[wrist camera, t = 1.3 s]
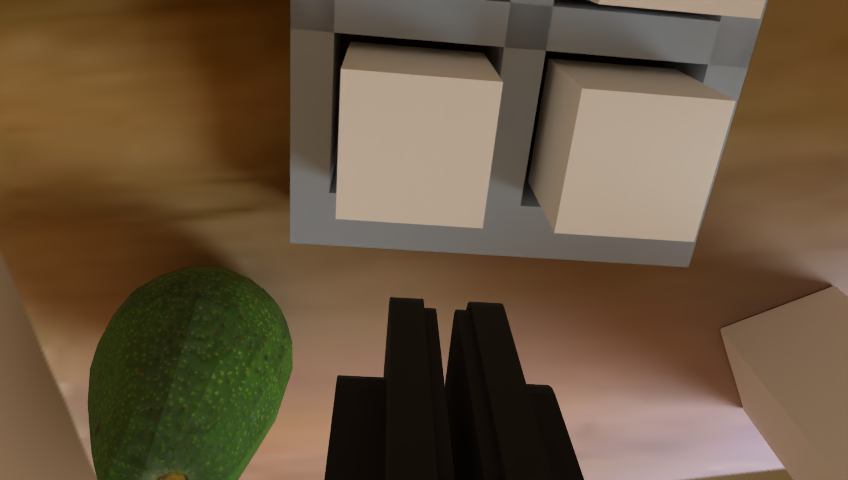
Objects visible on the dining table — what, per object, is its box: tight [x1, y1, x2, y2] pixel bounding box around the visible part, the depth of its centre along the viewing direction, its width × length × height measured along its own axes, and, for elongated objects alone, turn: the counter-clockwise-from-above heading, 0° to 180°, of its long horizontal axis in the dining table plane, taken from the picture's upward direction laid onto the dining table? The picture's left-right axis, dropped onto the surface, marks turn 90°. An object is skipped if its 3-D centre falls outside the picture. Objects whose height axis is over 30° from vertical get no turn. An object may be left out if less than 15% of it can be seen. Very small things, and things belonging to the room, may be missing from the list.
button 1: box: [336, 41, 503, 228], centre depth 24 cm, size 5×5×5 cm
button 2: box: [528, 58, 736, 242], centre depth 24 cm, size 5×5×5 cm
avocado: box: [88, 267, 292, 480], centre depth 27 cm, size 8×8×12 cm
